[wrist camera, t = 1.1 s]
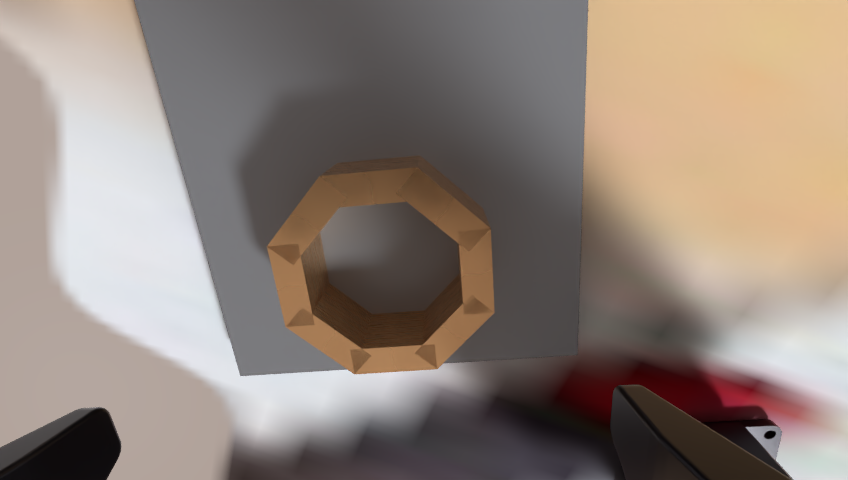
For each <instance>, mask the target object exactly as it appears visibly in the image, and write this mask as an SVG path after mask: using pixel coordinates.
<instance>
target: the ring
mask: <svg viewBox="0 0 848 480" xmlns="http://www.w3.org/2000/svg"><path fill="white" fill-rule="evenodd" d="M398 202H408V203H409V204H410V205H411V206H413V207H414V208H415V209H416V210H418V211H419V212H420V213H421V214H423V215H424V216H425V217H426V218H428V219H429V220H430V221H431V222H432V223H434V224H435V225H436V226H437V227H439V228H440V229H441V230H442V231H444V232H445V233H446V234H447V235H449V236H450V237H451V238H452V239H454V240H455V241H456V242H457V247H458V261H459V274H458V275H457V276H456V277H455V279H454V280H453V281H452V282H451V283H450V284H449V285H448V286H447V287H446V288H445V289H444V290H443V291H442V292H441V293H440V294H439V295H438V297H437V298H436V299H435V300H434V301H433V302H432V303H431V304H430V305H429V306H428V307H427V308H426V309H425V310H422V311H408V312H394V313H379V314H372V313H370V312H369V311H367V310H366V309H365V308H363V307H362V306H361V305H359V304H358V303H356V302H355V301H354V300H352V299H351V298H349V297H348V296H347V295H345V294H344V293H343V292H341V291H340V290H338V289H337V288H336V287H334V286H333V285H332V284H330V283H329V277H328V272H327V266H326V261H325V256H324V250H323V245H322V239H321V234H320V232H321V231H322V229H323V228H324V227H325V226H326V224H327V223H328V222H329V220H330V219H331V218H332V217H333V215H334V214H335V213H336V212H337V210H338V209H339V208H340V207H351V206H363V205H375V204H386V203H398ZM267 249H268V254H269V258H270V262H271V267H272V271H273V275H274V280H275V284H276V288H277V293H278V297H279V301H280V306H281V310H282V314H283V319H284V323H285V327H286V328H288V329H289V330H291V331H292V332H293V333H295V334H296V335H298V336H299V337H301V338H302V339H304V340H305V341H307V342H308V343H310V344H311V345H313V346H314V347H315V348H317V349H318V350H320V351H321V352H323V353H324V354H326V355H327V356H329V357H330V358H332V359H333V360H334V361H336V362H337V363H339V364H340V365H342V366H343V367H345V368H346V369H348V370H349V371H351V372H352V373H353V374H366V373H382V372H399V371H415V370H431V369H438V368H439V367H440V366H441V365H442V364H443V363H444V362H445V361H446V360H447V359H448V358H449V357H450V356H451V355H452V354H453V353H454V352H455V351H456V350H457V349H458V348H459V347H460V346H461V345H462V344H463V343H464V342H465V341H466V340H467V339H468V338H469V337H470V336H471V335H472V334H473V333H474V332H475V331H476V330H477V329H478V328H479V327H480V326H481V325H482V324H483V323H484V322H485V321H486V320H488V319H489V318H490V317H491V316H492V315H493V314H494V313H495V311H494V289H493V266H492V243H491V228H490V225H489V222H488V220H487V217H486V215H485V212H484V210H483V208H482V207H481V206H480V205H479V204H478V203H476V202H475V201H474V200H473V199H472V198H470V197H469V196H468V195H467V194H466V193H464V192H463V191H462V190H461V189H460V188H458V187H457V186H456V185H455V184H454V183H452V182H451V181H450V180H449V179H448V178H447V177H445V176H444V175H443V174H442V173H441V172H439V171H438V170H437V169H436V168H435V167H433V166H432V165H431V164H430V163H429V162H427V161H426V160H425V159H424V158H423V157H421V156H420V155H419V156H408V157H397V158H386V159H375V160H364V161H353V162H342V163H337V164H335V165H334V166H333V167H331V168H330V169H328V170H327V171H326V172H324V173H323V174H322V175H320V176H319V177H318V179H317V180H316V181H315V183H314V184H313V185H312V187H311V188H310V189H309V191H308V192H307V193H306V195H305V196H304V197H303V199H302V200H301V201H300V203H299V204H298V205H297V207H296V208H295V209H294V211H293V212H292V213H291V215H290V216H289V217H288V219H287V220H286V221H285V223H284V224H283V225H282V227H281V228H280V229H279V231H278V232H277V233H276V235H275V236H274V237H273V239H272V240H271V241H270V243H269V244H268V246H267Z"/></svg>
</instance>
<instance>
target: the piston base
mask: <svg viewBox="0 0 848 480" xmlns="http://www.w3.org/2000/svg"><path fill="white" fill-rule="evenodd" d="M134 2H135V5H136V9H137V12H138V16H139V19H140V23H141V26H142V30H143V33H144V37H145V40H146V44H147V47H148V51H149V54H150V58H151V62H152V65H153V69H154V72H155V76H156V79H157V83H158V86H159V90H160V93H161V97H162V100H163V104H164V107H165V111H166V115H167V118H168V122H169V125H170V129H171V132H172V136H173V139H174V143H175V146H176V150H177V153H178V157H179V160H180V164H181V168H182V171H183V175H184V178H185V182H186V185H187V189H188V192H189V196H190V199H191V203H192V206H193V210H194V213H195V217H196V221H197V224H198V228H199V231H200V235H201V238H202V242H203V245H204V249H205V252H206V256H207V259H208V263H209V266H210V270H211V274H212V277H213V281H214V284H215V288H216V291H217V295H218V298H219V302H220V305H221V309H222V312H223V316H224V319H225V323H226V327H227V330H228V334H229V337H230V341H231V344H232V348H233V351H234V355H235V358H236V362H237V365H238V369H239V372H240V376H249V375H265V374H281V373H297V372H313V371H329V370H345V369H346V368H345V367H343V366H342V365H340V364H339V363H337V362H336V361H334V360H333V359H332V358H330V357H329V356H327V355H326V354H324V353H323V352H321V351H320V350H318V349H317V348H315V347H314V346H313V345H311V344H310V343H308V342H307V341H305V340H304V339H302V338H301V337H299V336H298V335H296V334H295V333H293V332H292V331H291V330H289V329H288V328H286V327H285V323H284V319H283V314H282V310H281V306H280V301H279V297H278V293H277V288H276V284H275V280H274V275H273V271H272V267H271V262H270V258H269V254H268V249H267V246H268V244H269V243H270V241H271V240H272V239H273V237H274V236H275V235H276V233H277V232H278V231H279V229H280V228H281V227H282V225H283V224H284V223H285V221H286V220H287V219H288V217H289V216H290V215H291V213H292V212H293V211H294V209H295V208H296V207H297V205H298V204H299V203H300V201H301V200H302V199H303V197H304V196H305V195H306V193H307V192H308V191H309V189H310V188H311V187H312V185H313V184H314V183H315V181H316V180H317V179H318V177H319V176H320V175H322V174H323V173H324V172H326V171H327V170H328V169H330V168H331V167H333V166H334V165H335V164H337V163H342V162H353V161H364V160H375V159H386V158H397V157H408V156H419V155H420V156H421V157H423V158H424V159H425V160H426V161H427V162H429V163H430V164H431V165H432V166H433V167H435V168H436V169H437V170H438V171H439V172H441V173H442V174H443V175H444V176H445V177H447V178H448V179H449V180H450V181H451V182H452V183H454V184H455V185H456V186H457V187H458V188H460V189H461V190H462V191H463V192H464V193H466V194H467V195H468V196H469V197H470V198H472V199H473V200H474V201H475V202H476V203H478V204H479V205H480V206H481V207H482V208H483V210H484V212H485V215H486V217H487V220H488V222H489V225H490V228H491V243H492V266H493V289H494V311H495V313H494V314H493V315H492V316H491V317H490V318H489V319H488V320H486V321H485V322H484V323H483V324H482V325H481V326H480V327H479V328H478V329H477V330H476V331H475V332H474V333H473V334H472V335H471V336H470V337H469V338H468V339H467V340H466V341H465V342H464V343H463V344H462V345H461V346H460V347H459V348H458V349H457V350H456V351H455V352H454V353H453V354H452V355H451V356H450V357H449V358H448V359H447V360H446V361H445V362H444V363H457V362H473V361H489V360H505V359H521V358H537V357H553V356H569V355H578V323H579V290H580V256H581V223H582V189H583V156H584V123H585V89H586V56H587V22H588V0H134ZM320 234H321V239H322V245H323V250H324V256H325V261H326V266H327V272H328V277H329V283H330V284H332V285H333V286H334V287H336V288H337V289H338V290H340V291H341V292H343V293H344V294H345V295H347V296H348V297H349V298H351V299H352V300H354V301H355V302H356V303H358V304H359V305H361V306H362V307H363V308H365V309H366V310H367V311H369V312H370V313H372V314H379V313H394V312H408V311H422V310H425V309H426V308H427V307H428V306H429V305H430V304H431V303H432V302H433V301H434V300H435V299H436V298H437V297H438V295H439V294H440V293H441V292H442V291H443V290H444V289H445V288H446V287H447V286H448V285H449V284H450V283H451V282H452V281H453V280H454V279H455V277H456V276H457V275H458V274H459V261H458V247H457V242H456V241H455V240H454V239H452V238H451V237H450V236H449V235H447V234H446V233H445V232H444V231H442V230H441V229H440V228H439V227H437V226H436V225H435V224H434V223H432V222H431V221H430V220H429V219H428V218H426V217H425V216H424V215H423V214H421V213H420V212H419V211H418V210H416V209H415V208H414V207H413V206H411V205H410V204H409V203H408V202H398V203H386V204H375V205H363V206H351V207H340V208H339V209H338V210H337V212H336V213H335V214H334V215H333V217H332V218H331V219H330V220H329V222H328V223H327V224H326V226H325V227H324V228H323V229H322V231H321V232H320Z"/></svg>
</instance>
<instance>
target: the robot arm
mask: <svg viewBox="0 0 848 480" xmlns="http://www.w3.org/2000/svg"><path fill="white" fill-rule="evenodd" d="M610 427H611V435H612V439H613V442H614V445H615V448H616V451H617V453H618V456H619V459H620V462H621V465H622V468H623V471H624V474H625V480H793V479H792V478H791V476H790V475H789V474H788V473H787V472H786V471H785V470H784V469H783V468H782V467H781V466H780V464H779V463H778V462H777V461H776V457H777V452H778V448H779V444H780V439H781V435H782V431H781V429H780V428H779V427H778V426H777V425H776V424H775V423H774V422H773V421H771V420H768V419H761V420H742V421H723V422H704V423H701V422H699V421H698V420H696V419H694V418H693V417H691V416H690V415H688V414H686V413H685V412H683V411H682V410H680V409H679V408H677V407H675V406H674V405H672V404H671V403H669V402H667V401H666V400H664V399H663V398H661V397H659V396H658V395H656V394H655V393H653V392H651V391H650V390H648V389H647V388H645V387H643V386H641V385H619V386H617V387H616V388H615V389H614V391H613V399H612V411H611V422H610ZM120 452H121V441H120V439H119V436H118V433H117V431H116V428H115V426H114V423H113V421H112V418H111V416H110V414H109V412H108V411H107V410H106V409H105V408H100V407H96V408H81V409H78V410H75V411H73V412H71V413H69V414H67V415H65V416H63V417H61V418H59V419H57V420H55V421H53V422H51V423H49V424H47V425H45V426H43V427H41V428H39V429H37V430H35V431H33V432H31V433H29V434H27V435H25V436H23V437H21V438H19V439H17V440H15V441H12V442H10V443H9V444H7V445H4V446H2V447H1V448H0V480H107V478H108V476H109V474H110V472H111V470H112V469H113V467H114V465H115V463H116V461H117V459H118V457H119V455H120Z"/></svg>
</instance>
